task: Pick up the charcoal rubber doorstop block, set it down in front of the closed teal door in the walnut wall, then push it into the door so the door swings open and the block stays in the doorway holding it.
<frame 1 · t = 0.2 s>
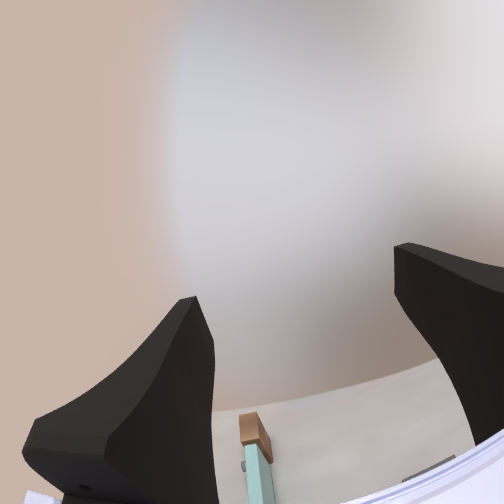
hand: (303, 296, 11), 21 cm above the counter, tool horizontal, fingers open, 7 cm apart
door: (258, 502, 18), point 3 cm above the counter, hinge at 0.0°
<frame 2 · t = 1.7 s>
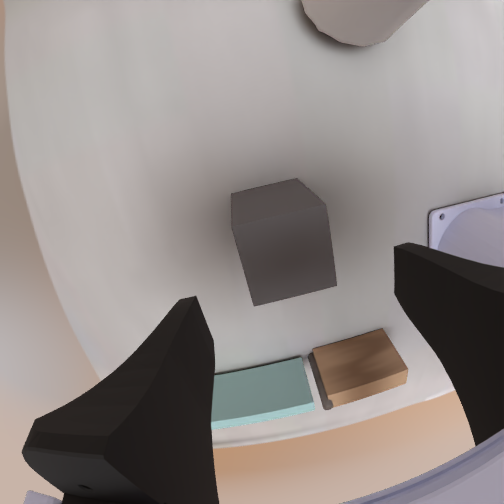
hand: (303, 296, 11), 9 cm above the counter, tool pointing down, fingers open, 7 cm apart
doorstop block: (271, 216, 19), on the counter
door: (246, 399, 22), point 3 cm above the counter, hinge at 0.0°
wall: (264, 367, 24), on the counter
salt shaker: (338, 13, 14), on the counter
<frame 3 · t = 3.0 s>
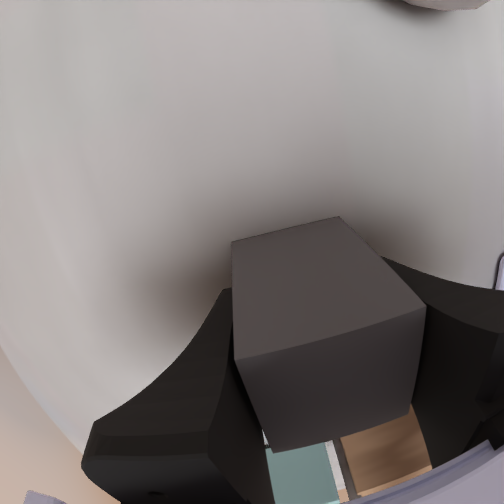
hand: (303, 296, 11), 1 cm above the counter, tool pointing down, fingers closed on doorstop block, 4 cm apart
doorstop block: (295, 276, 12), on the counter, touching gripper
door: (253, 487, 15), point 3 cm above the counter, hinge at 0.0°
wall: (275, 446, 17), on the counter
when the fingers open (2 cm above the counter, at t = 6.5 s): doorstop block stays where it is, on the counter.
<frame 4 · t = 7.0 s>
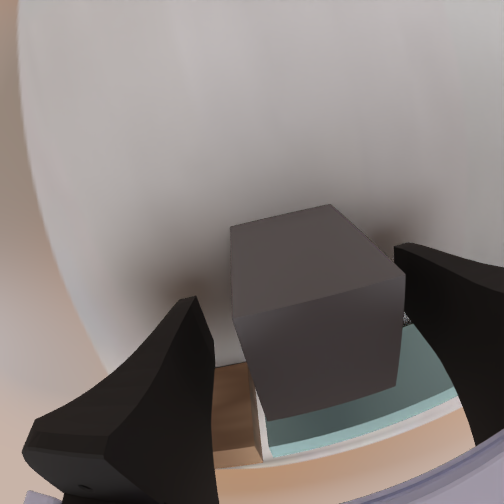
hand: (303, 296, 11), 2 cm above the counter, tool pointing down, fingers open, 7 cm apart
doorstop block: (290, 260, 13), on the counter
door: (367, 388, 13), point 3 cm above the counter, hinge at 0.0°
wall: (381, 337, 15), on the counter
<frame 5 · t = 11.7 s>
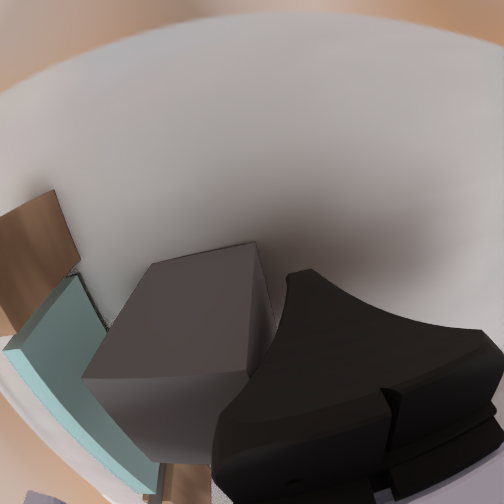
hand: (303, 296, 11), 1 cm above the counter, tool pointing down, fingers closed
doorstop block: (216, 299, 12), on the counter, tilted 6°, touching gripper
door: (95, 401, 11), point 3 cm above the counter, hinge at 0.0°
wall: (133, 384, 14), on the counter
salt shaker: (497, 373, 17), on the counter
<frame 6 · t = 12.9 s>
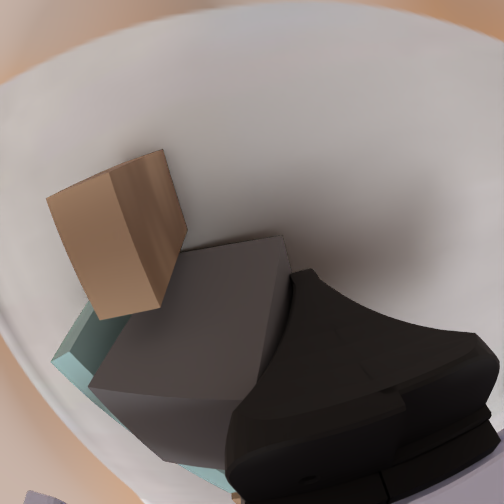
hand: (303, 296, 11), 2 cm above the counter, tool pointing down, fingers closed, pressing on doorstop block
doorstop block: (240, 292, 11), point 1 cm above the counter, tilted 15°, touching door, gripper
door: (165, 401, 11), point 3 cm above the counter, hinge at 16.1°, touching doorstop block
wall: (221, 372, 14), on the counter
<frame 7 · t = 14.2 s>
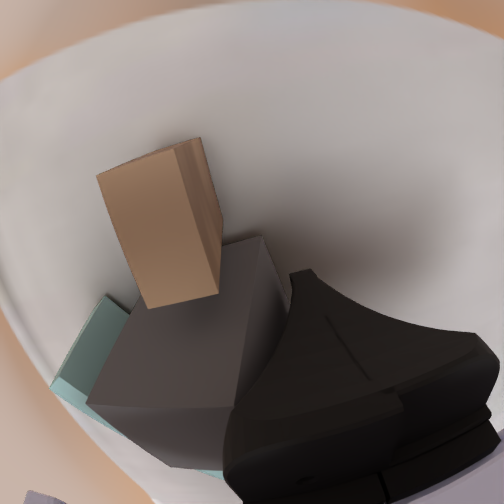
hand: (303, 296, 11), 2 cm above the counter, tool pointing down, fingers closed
doorstop block: (229, 294, 11), point 1 cm above the counter, tilted 14°, touching door, gripper
door: (174, 409, 11), point 3 cm above the counter, hinge at 30.5°, touching doorstop block
wall: (248, 366, 14), on the counter
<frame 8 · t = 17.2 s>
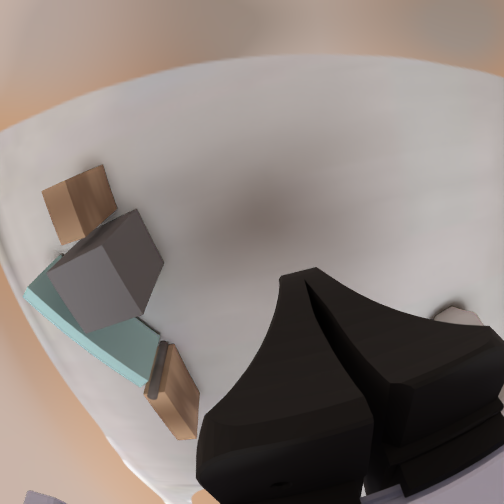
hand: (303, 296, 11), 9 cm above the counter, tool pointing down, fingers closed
doorstop block: (125, 247, 19), on the counter
door: (92, 323, 18), point 3 cm above the counter, hinge at 30.8°
wall: (144, 303, 21), on the counter
salt shaker: (443, 324, 25), on the counter
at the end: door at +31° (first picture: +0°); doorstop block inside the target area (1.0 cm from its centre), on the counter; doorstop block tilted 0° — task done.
